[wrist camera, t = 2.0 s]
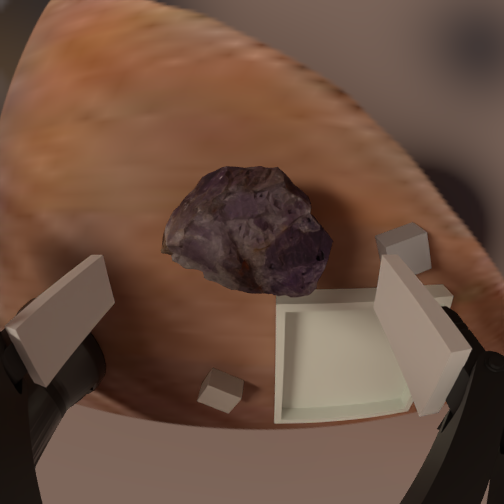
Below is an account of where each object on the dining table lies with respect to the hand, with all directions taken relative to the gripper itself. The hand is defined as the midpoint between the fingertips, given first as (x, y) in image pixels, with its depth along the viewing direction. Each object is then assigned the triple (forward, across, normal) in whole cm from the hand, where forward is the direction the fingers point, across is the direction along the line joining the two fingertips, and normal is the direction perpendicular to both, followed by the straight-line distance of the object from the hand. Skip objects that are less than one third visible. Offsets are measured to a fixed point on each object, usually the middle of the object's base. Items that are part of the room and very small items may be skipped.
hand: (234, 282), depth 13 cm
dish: (+13, +10, -16) cm, 23 cm away
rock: (+13, -1, 0) cm, 13 cm away
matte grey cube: (+12, -5, -20) cm, 24 cm away
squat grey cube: (+13, +13, -3) cm, 18 cm away
